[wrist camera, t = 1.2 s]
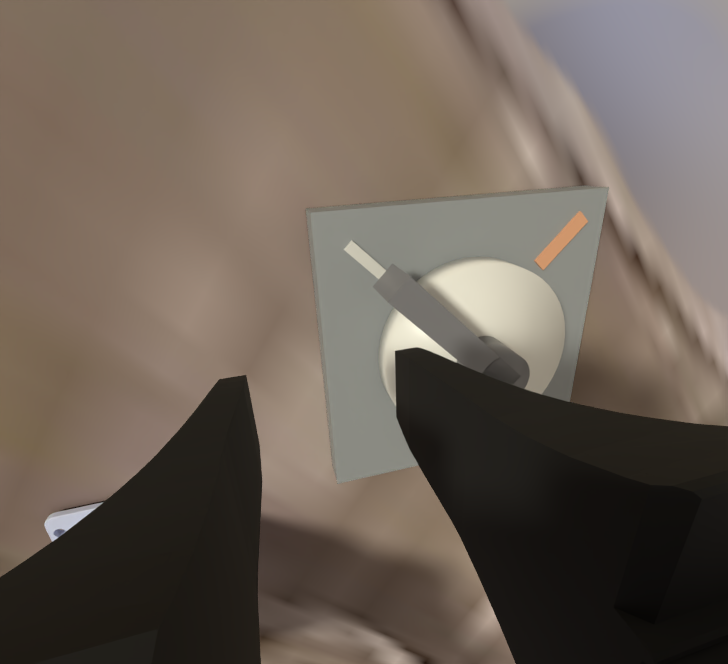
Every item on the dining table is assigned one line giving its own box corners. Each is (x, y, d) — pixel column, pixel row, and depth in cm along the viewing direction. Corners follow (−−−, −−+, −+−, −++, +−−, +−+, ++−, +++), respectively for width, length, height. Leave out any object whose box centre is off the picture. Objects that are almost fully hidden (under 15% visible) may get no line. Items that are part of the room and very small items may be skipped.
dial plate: (548, 418, 26) (565, 433, 24) (332, 464, 23) (338, 485, 22) (585, 185, 20) (611, 187, 19) (305, 208, 17) (310, 213, 16)
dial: (574, 328, 22) (629, 356, 18) (459, 448, 23) (492, 494, 20) (443, 182, 17) (487, 187, 14) (306, 344, 18) (318, 383, 15)
